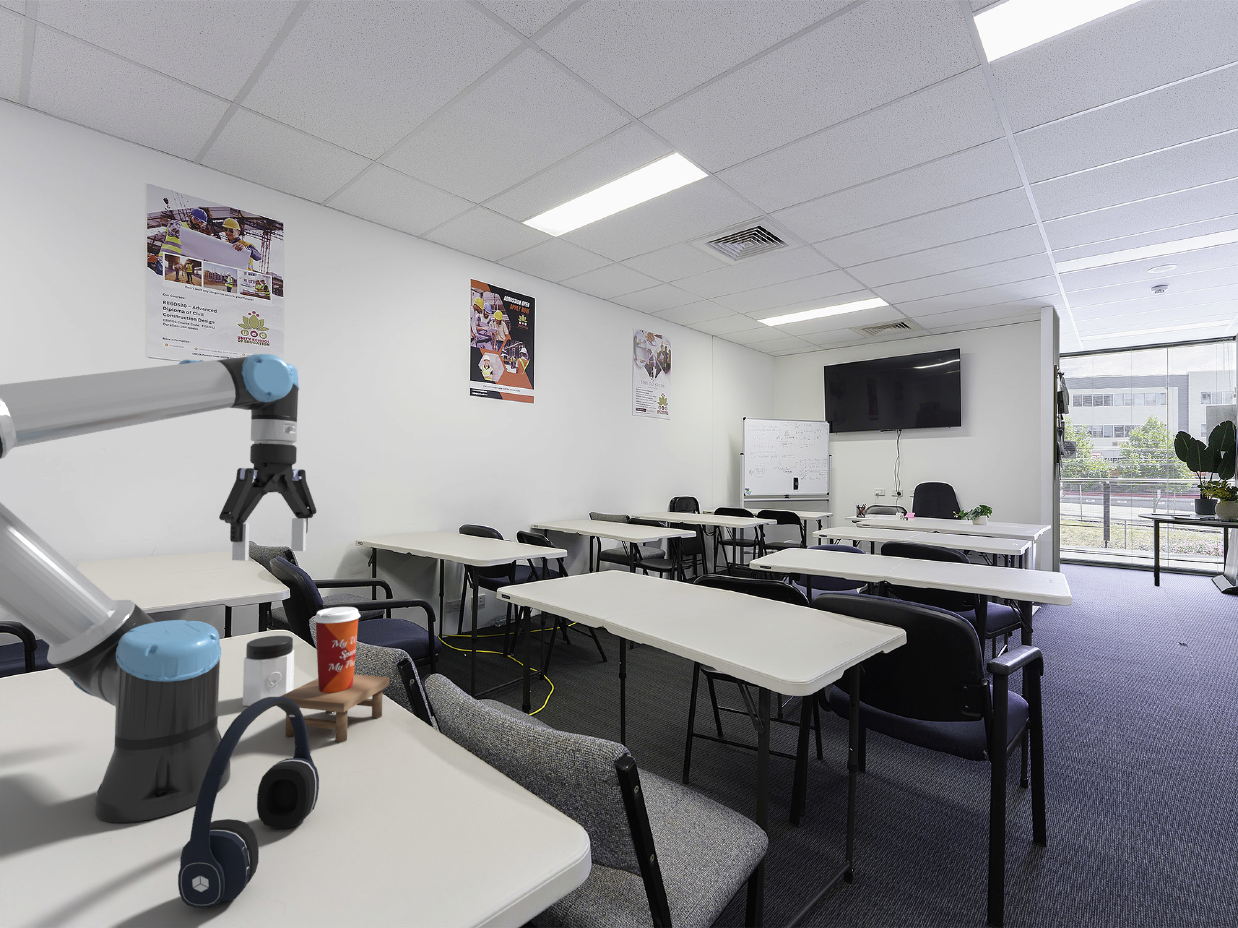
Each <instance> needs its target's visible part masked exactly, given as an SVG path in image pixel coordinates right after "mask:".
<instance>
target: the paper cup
mask: <svg viewBox="0 0 1238 928" xmlns="http://www.w3.org/2000/svg"><path fill="white" fill-rule="evenodd" d="M359 618H361V614H360V613H359V609H358V608H356V607H354V606H337V607H328V608H324V609H319V610H318V611H316V615H315V617H314V619H313V622H315V633H316V636H315V637H316V639H315V640H316V656H317V657H316V658H317V660H316V663H317V679H318V683H319V691H320V692H324V693H335V692H340V691H344V690H347V689H349V688H351V687H352V685H353V677H354V674H355V667H356V665H355V664H356V654H357V641H358V629H359V628H358V627H359Z"/></svg>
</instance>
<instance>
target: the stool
mask: <svg viewBox="0 0 1238 928" xmlns="http://www.w3.org/2000/svg"><path fill="white" fill-rule="evenodd" d="M388 686H390V677H389V676H387V677H386V676H378V675H377V676H375V675H363V674H355V673H354V677H353V685H352V687H351V688H349V689H347V690H344V691H340V692H335V693H324V692H320V691H319V683H318V678H316V679H314V680H312V681H310V682H309V681H308V682H307V683H305V684H303V685H301V686H299V687H296V688H293V690H292V691H290V692H288V693H286V694H284V695H282V696H280V697H286V698H290V699H291V700H293V701H294V702H295V703H296V704H297V705H298V707H299V708H300V709H307V710H314V711H316V710H317V711H325V714H327V713H329V714H328V715H330V713H331V714H333V713H332V712H335V720H332V719H323V718H314V717H304V716H303V717H304V720H305V724H306V727H310V728H320V729H327V730H335V738H334V739H335V740H334V741H335V742H336V743H337V744H338V743H339V744H340V743H344V742H346V741H347V740H348V714H349V710H350V709H352V708H353V707H356V706H361V707H371V718H372V719H380V718H382V717H383V692H384V691H383V690H384V689H386V688H387V687H388ZM370 697H371V698H370ZM285 737H286V738H290V737H291V738H292V737H294V732H293V728H292V724H291V721H290V719H289V717H288V715H287V714H286V713H285Z"/></svg>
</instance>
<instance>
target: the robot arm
mask: <svg viewBox="0 0 1238 928" xmlns="http://www.w3.org/2000/svg"><path fill="white" fill-rule="evenodd" d="M299 386H300V385H299V375H298V369H297V368H296V366H295V365H293V364H291V363H288V362H286V361H285V360H284V359H282V358H280V357H279V356H277V355H274V354H271V353H257V354H251V355H248V356H240V357H234V358H233V357H232V358H224V359H223V358H222V359H219V360H206V361H204V360H203V359H201V360H194V359H183V360H181V361H179V363H178V364H170V365H162V366H152V367H143V368H142V367H141V368H136V369H127V370H117V371H109V372H107V371H106V372H100V373H93V374H83V375H74V376H66V377H65V376H63V377H55V378H48V379H47V378H45V379H39V380H28V381H21V382H20V381H19V382H11V383H3V384H0V460H1V459H4V458H5V457H7V456H8V454H9V453H10V451H11V450H12V449H14V448H18V447H23V446H30V445H35V444H38V443H45V442H49V441H51V442H52V441H56V440H60V439H67V438H73V437H78V436H84V435H89V434H94V433H99V432H100V433H101V432H105V431H108V430H109V431H111V430H115V429H120V428H125V427H131V426H137V425H143V424H147V423H153V422H159V421H164V420H165V421H166V420H170V419H174V418H180V417H185V416H191V415H197V414H202V413H206V412H212V411H219V410H222V409H239V410H247V411H249V410H250V414H251V417H250V419H251V420H250V424H251V425H250V441H251V442H253V443H252V444H251V445H250V453H249V457H250V458H249V460H250V463H251V464H253V467H239V468H237V471H236V479H235V481H234V483H233V486H232V488H231V490H230V493H229V494H228V497H227V498H226V501H225V503H224V505H223V507H222V509H221V511H220V514H219V517H218V518H219V520H220V521H224V523H226V524H229V525H230V531H229V533H230V536H229V540H230V542H231V543H232V547H231V549H232V550H231V551H232V552H231V555H232V556H231V558H232V559H231V560H232V561H243V562H244V561H249V557H250V556H249V554H250V523H246V522H247V520H248V518H249V517H250V516H251V514H252V513H253V512H254V510H255V508H256V507H257V506H258V505H259V503H260V501H261V500H262V499H263V497H264V496H265V495H267V494H269V493H278V494H280V495H281V496H282V498H283V500H284V501H285V502H286V504H287V506H288V507H289V508H290V510H291V511H292V513H293V515H294V516H295V518H292V519H291V542H290V543H291V545H290V546H291V551H292V552H306V551H307V548H306V547H307V545H306V544H307V533H308V526H309V525H308V520H309V519H312V518H313V517H314V515H316V514H317V508H316V505H315V503H314V499H313V496H312V494H311V491H310V488H309V485H308V482H307V477H306V475H307V474H306V470H305V469H302V468H301V469H296V468H295V469H294V468H293V465H295V464H296V463H297V451H298V450H297V446H296V445H294V443H297V437H298V435H297V433H298V432H297V427H298V406H299V404H298V403H299V390H300V387H299ZM0 608H1V609H2V610H3V611H4V612H5V613H7V614H9V615H10V616H11V617H12V618H14V619H15V620H16V621H18V622H19V623H20V624H22V625H23V626H24V627H25V628H26V629H28V630H29V631H31V633H33V634H34V635H36V636H37V637H38V638H40V639H41V640H42V641H44V642H45V643H46V644H47V645H49V647H48V651H47V657H46V659H47V662H48V663H50V664H51V665H52V666H54V667H55V668H56V669H58V670H59V671H61V672H62V673H64V675H66V676H67V677H68V678H69V680H70V681H72V683H73V684H74V687H76V688H78V690H80V691H81V692H84V693H85V694H87V695H90V696H92V697H94V698H98V699H100V700H102V701H104V702H107V703H108V704H110V705H112V706H114V707H115V715H114V716H115V717H114V718H115V719H114V749H113V752H112V754H111V757H110V760H109V762H108V765H107V767H106V769H105V773H104V776H103V778H102V781H101V783H100V785H99V787H98V788H97V791H96V793H95V798H94V799H95V804H94V814H95V815H96V817H97V818H98V819H99V820H101V821H105V822H108V823H116V824H117V823H118V824H119V823H123V824H125V823H134V822H135V823H136V822H141V821H142V822H143V821H149V820H153V819H154V820H155V819H157V818H158V819H159V818H162V817H165V816H169V815H172V814H175V813H178V812H181V811H183V810H185V809H189V808H192V807H194V806H196V803H197V800H198V796H199V792H200V789H201V786H202V783H203V780H204V777H205V775H206V772H207V769H208V767H209V764H210V762H211V759H212V757H213V755H214V753H215V751H216V749H217V747H218V745H219V743H220V741H221V739H222V738H223V737H222V736H221V733H220V730H219V726H218V723H219V721H218V720H219V719H218V718H219V717H218V716H219V715H218V714H219V690H220V668H221V667H220V666H221V664H220V663H221V655H222V647H221V643H220V634H219V632H218V630H217V628H216V627H214V626H213V625H211V624H210V623H207V622H204V621H199V620H198V621H197V620H189V621H188V620H186V619H174V620H173V619H171V620H162V621H155V620H154V619H153V618H152V617H151V616H150V615H148V614H147V613H146V612H145V611H144V610H143V609H142V608H141V607H140V606H138V605H137V604H136V603H135V602H134V601H132V600H131V599H117V600H116V599H115V600H114V599H112V598H110V597H109V596H108V595H107V594H106V593H105V592H104V591H103V590H101V588H99V587H98V586H97V585H96V584H95V583H93V581H91V580H90V579H89V578H88V577H87V576H85V575H84V573H82V572H81V571H80V570H79V569H78V568H76V567H75V566H74V565H73V564H72V563H70V561H68V559H66V558H65V557H64V556H62V554H61V553H59V552H58V551H57V550H56V549H55V548H53V547H52V546H51V545H50V544H49V543H48V542H46V540H44V539H43V538H42V537H41V536H40V535H38V534H37V533H36V532H35V531H34V530H33V529H32V528H30V526H28V525H27V524H26V523H25V522H23V520H22V519H20V518H19V517H18V516H17V515H16V514H14V513H13V512H12V511H11V510H10V509H9V508H7V507H6V506H5V504H4V503H2V502H0ZM230 778H231V758H230V759H229V762H228V764H227V766H226V769H225V771H224V774H223V776H222V779H221V782H220V785H219V788H218V792H220V791H221V790H222V789H223V788H224V787H225V786H226V785H227V784H228V782H229V780H230Z"/></svg>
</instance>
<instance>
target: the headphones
mask: <svg viewBox="0 0 1238 928" xmlns="http://www.w3.org/2000/svg"><path fill="white" fill-rule="evenodd" d="M274 707H278V708H279V709H281V710H282V711H284V713H285V715H286V714H287V715H288V717H289V719H290V721H291V724H292V728H293V732H294V736H293V737H294V753H293V756H292V758H291V757H290V758H285V759H283V760H282V759H281V760H280V761H278V762H276V763H275V764H273V765H272V766H271V767H270V768H269V769H268V770H267V771H266V772H265V773H264V774H263V775H262V776H261V779H260V782H259V785H258V789H257V794H256V795H257V796H256V811H257V815H258V819H259V820H260V822H261V823H262V824H263V825H264V826H267V827H269V828H271V829H272V828H274V829H286V828H292V827H294V826H298V825H299V824H300V823H302V822H303V821H304V820H305V819H306V818H307V817H308V816H309V815H310V814H311V813H312V811H314V810H315V807H316V804H317V801H318V799H319V798H318V796H319V790H320V778H319V777H320V776H319V773H318V768H317V767H316V766H315V764H314V760H313V757H312V755H311V750H310V743H309V742H310V741H309V733H308V728H307V726H306V724H305V720H304V716H303V713H302V711H301V708H299V707H298V705H297V704H296V703H295V702H294V701H293V700H291V699H290V698H286V697H267V698H263V699H261V700H259V701H257V702H255V703H253V704H252V705H250V706H247V707H246V708H245V709H243V710H242V711H241V713H239V714H238V715H237V716H236V717H235V718H234V719H233V720H232V722H231V724H230V725H229V726H228V727H227V729H226V731H225V732H224V734H223V736H222V737H221V738H222V739H221V741H220V743H219V745H218V747H217V749H216V751H215V753H214V755H213V757H212V759H211V762H210V764H209V767H208V769H207V772H206V775H205V777H204V780H203V783H202V786H201V789H200V792H199V796H198V800H197V803H196V805H195V808H194V812H193V818H192V825H191V831H190V838H189V840H188V841H187V842H186V844H184V846H183V847H182V851H181V853H180V858H179V861H180V865H179V867H180V868H179V870H178V874H177V885H178V892H179V895H180V898H181V901H182V902H184V904H186V905H187V906H189V907H191V908H197V909H199V908H200V909H205V908H211V907H214V906H217V905H219V903H226V902H230V901H233V900H235V899H237V897H239V896H240V894H241V893H242V892H243V891H244V890H245V888H246V887H247V886H248V884H249V883H250V881H251V880H252V878H253V877H254V876H255V873H256V872H257V869H258V865H259V858H260V857H259V856H260V855H259V854H260V852H259V845H258V844H259V843H258V838H257V835H256V832H255V830H254V828H253V827H252V826H251V825H249V824H248V822H245V821H243V820H240V819H231V818H229V819H228V818H227V819H226V818H225V819H218V820H213V821H212V818H213V812H214V807H215V804H216V803H215V802H216V798H217V795H218V792H219V791H218V788H219V785H220V782H221V779H222V776H223V774H224V771H225V769H226V766H227V764H228V762H229V759H230V760H231V757H232V755H233V753H234V751H235V748H236V747H237V745H238V743H239V741H240V739H241V737H242V736H243V734H244V733H245V731H246V730H247V729H248V727H249V726H250V725H251V724H252V723H253V722H254V721H255V720H256V719H257V718H258V717H260V715H262V714H263V713H265V712H266V711H268V710H270V709H271V708H274Z"/></svg>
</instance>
